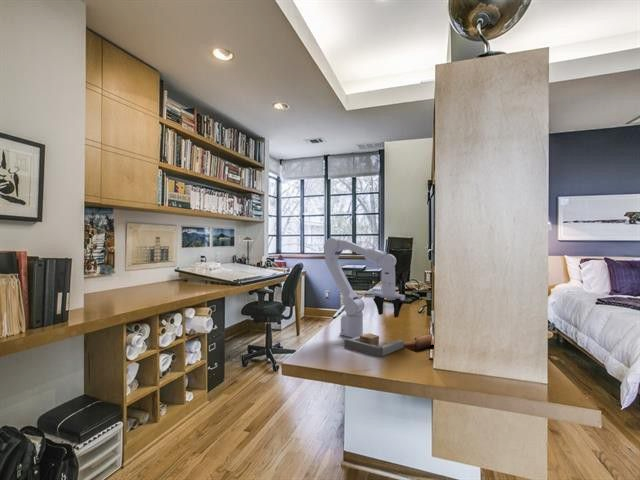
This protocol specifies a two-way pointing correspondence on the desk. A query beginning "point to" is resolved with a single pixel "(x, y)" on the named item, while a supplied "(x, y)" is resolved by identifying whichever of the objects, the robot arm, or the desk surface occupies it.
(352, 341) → the bay
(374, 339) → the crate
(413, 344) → the sunglasses case
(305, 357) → the desk surface
